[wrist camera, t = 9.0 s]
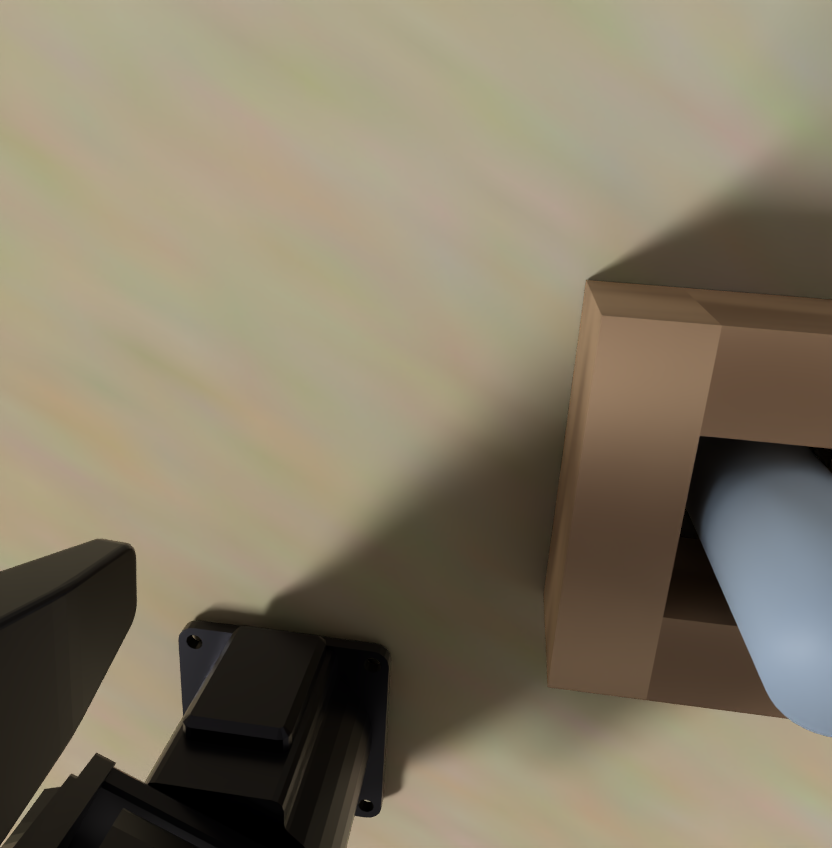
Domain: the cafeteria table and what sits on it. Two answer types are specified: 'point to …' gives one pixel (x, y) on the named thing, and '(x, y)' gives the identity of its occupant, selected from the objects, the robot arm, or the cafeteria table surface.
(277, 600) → the cafeteria table surface
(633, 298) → the socket block
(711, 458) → the peg
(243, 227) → the cafeteria table surface
